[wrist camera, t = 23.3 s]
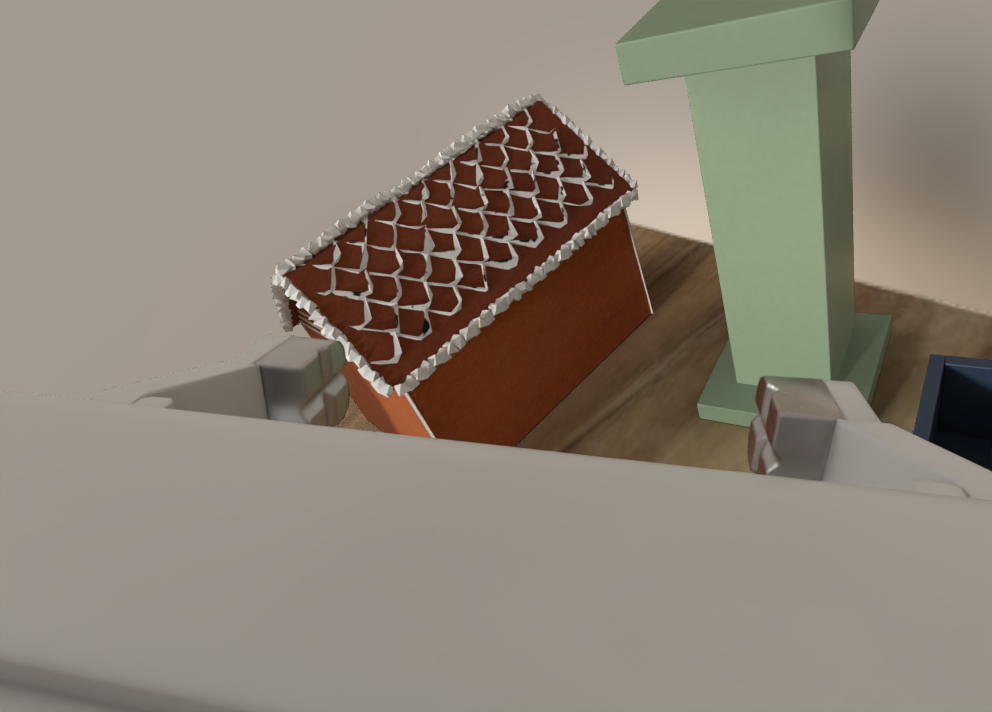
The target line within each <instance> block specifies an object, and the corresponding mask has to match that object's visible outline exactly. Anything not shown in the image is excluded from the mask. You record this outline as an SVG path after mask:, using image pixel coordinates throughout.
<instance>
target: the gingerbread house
mask: <svg viewBox="0 0 992 712" xmlns="http://www.w3.org/2000/svg"><path fill="white" fill-rule="evenodd" d="M636 188H637V181H636V180H633V181H632V180H631V178H630V175H628V174H626V175H625V170H619V168H618V166H615V164H614V162H613V160H612V158H608V157H607V156H606V153H604V151H603V150H602V149H601V148H600V147H599V148H598V147H597V146H596V145H595V144H594V143H592V140H591V139H590V137H589V135H587V136H586V137H585V136H584V135H583V134H582V131H581V129H580V128H579V127H576V126H575V124H574V122H573V121H571V120H570V119H569V118H568V117H567V116H566V115H565V116H564V115H563V114H562V112H560V111H559V110H558V109H557V108H556V107H552V105H551V104H549V103H547V102H545V100H544V99H543V98H542V97H541V95H540V94H537V95H534V96H533V95H532V94H531V95H530V96H529V97H528V98H525V97H523V99H522V101H521V100H519V99H518V100H517V102H515V103H513V104H512V105H507V107H506V108H505V109H503V111H502V112H501V113H500V114H499V115H498V116H497V115H494V118H492V119H490V120H489V119H487V120H486V121H485V122H484V123H482V124H480V125H479V127H478V126H474V129H473V130H472V129H471V130H470V131H469V132H468V133H467V134H466V135H463V136H462V139H461V141H459V140H458V142H455V141H454V142H453V143H452V144H451V145H450V146H448V147H447V148H445V149H444V150H443V153H441V152H439V155H438V156H437V157H436V158H435V159H434V160H433V161H432V160H428V163H427V165H424V166H423V168H422V169H421V170H420V171H416V172H415V174H414V176H413V177H408V179H401V185H399V186H398V187H397V186H395V187H394V188H393V189H392V190H391V191H389V190H388V189H387V190H386V191H385V192H384V193H383V194H381V193H380V192H379V194H378V195H377V197H376V196H374V197H373V198H371V199H370V200H365V201H364V203H363V205H362V206H361V205H360V206H359V207H358V208H357V210H355V212H353V211H350V213H349V215H348V217H347V218H345V219H343V220H341V219H339V220H338V221H337V222H336V224H335V225H332V226H331V227H330V228H329V229H328V230H326V232H325V231H323V232H322V235H320V236H319V237H318V238H317V239H316V240H315V241H314V242H311V241H310V242H309V246H308V249H307V250H306V249H304V248H303V247H302V249H301V250H300V252H299V254H298V255H294V256H292V259H286V261H285V263H284V264H281V263H277V266H276V269H275V272H276V274H275V275H274V276H273V277H272V283H271V284H272V286H271V288H273V290H272V292H273V293H274V296H273V299H276V301H275V303H276V306H277V307H278V312H280V315H279V317H281V320H280V323H283V326H282V327H283V329H284V330H285V331H286V332H289V331H293V327H294V326H296V325H299V324H300V323H301V324H302V326H303V327H304V329H305V330H306V332H307V333H308V334H309V336H310V337H311V338H315V339H325V340H335V341H340V342H341V343H342V345H343V346H344V348H345V355H346V362H347V363H346V364H345V366H344V367H343V369H342V370H341V373H342V374H343V376H344V377H345V378H346V379H347V381H348V382H349V392H350V395H351V397H352V398H353V400H354V401H355V403H356V404H357V405H358V407H359V408H360V410H361V411H362V413H363V414H364V416H365V417H366V419H367V420H368V421H370V422H371V423H372V424H374V425H375V426H376V427H378V428H379V429H380V430H382V431H383V432H384V433H392V434H401V435H410V436H419V437H428V438H437V439H446V440H455V441H464V442H473V443H482V444H491V445H500V446H509V447H514V446H515V445H516V444H517V443H518V442H519V441H520V440H521V439H522V438H523V437H524V436H525V435H526V434H528V433H529V432H530V431H531V430H532V429H533V428H534V427H535V426H536V425H537V424H538V423H539V422H540V421H541V420H542V419H543V418H544V417H545V416H546V415H547V414H548V413H549V412H550V411H551V410H552V409H553V408H554V407H555V406H556V405H557V404H558V403H560V402H561V401H562V400H563V399H564V398H565V397H566V396H567V395H568V394H569V393H570V392H571V391H572V390H573V389H574V388H575V387H576V386H577V385H578V384H579V383H580V382H581V381H582V380H583V379H584V378H585V377H586V376H587V375H588V374H589V373H590V372H592V371H593V370H594V369H595V368H596V367H597V366H598V365H599V364H600V363H601V362H602V361H603V360H604V359H605V358H606V357H607V356H608V355H609V354H610V353H611V352H612V351H613V350H614V349H615V348H616V347H617V346H618V345H619V344H620V343H621V342H622V341H624V340H625V339H626V338H627V337H628V336H629V335H630V334H631V333H632V332H633V331H634V330H635V329H636V328H637V327H638V326H639V325H640V324H641V323H642V322H643V321H644V320H645V319H646V318H647V317H648V316H649V315H650V314H653V311H652V307H651V303H650V299H649V295H648V292H647V288H646V284H645V280H644V276H643V272H642V269H641V265H640V261H639V257H638V253H637V249H636V246H635V242H634V238H633V234H632V230H631V226H630V223H629V219H628V215H627V211H626V208H627V207H629V206H630V202H631V201H633V200H638V191H637V190H636Z"/></svg>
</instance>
